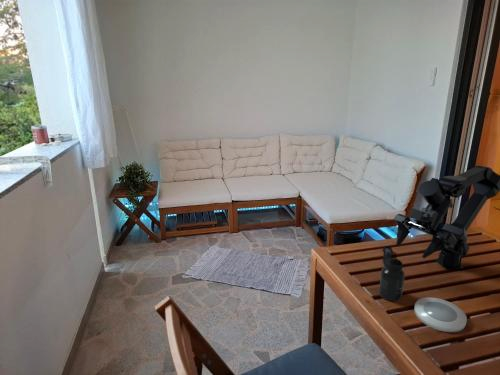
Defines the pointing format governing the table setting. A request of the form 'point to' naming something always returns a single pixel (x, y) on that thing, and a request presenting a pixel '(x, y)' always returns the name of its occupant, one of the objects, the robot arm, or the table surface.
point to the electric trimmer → (387, 254)
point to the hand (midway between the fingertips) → (409, 251)
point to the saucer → (440, 314)
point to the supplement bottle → (392, 280)
